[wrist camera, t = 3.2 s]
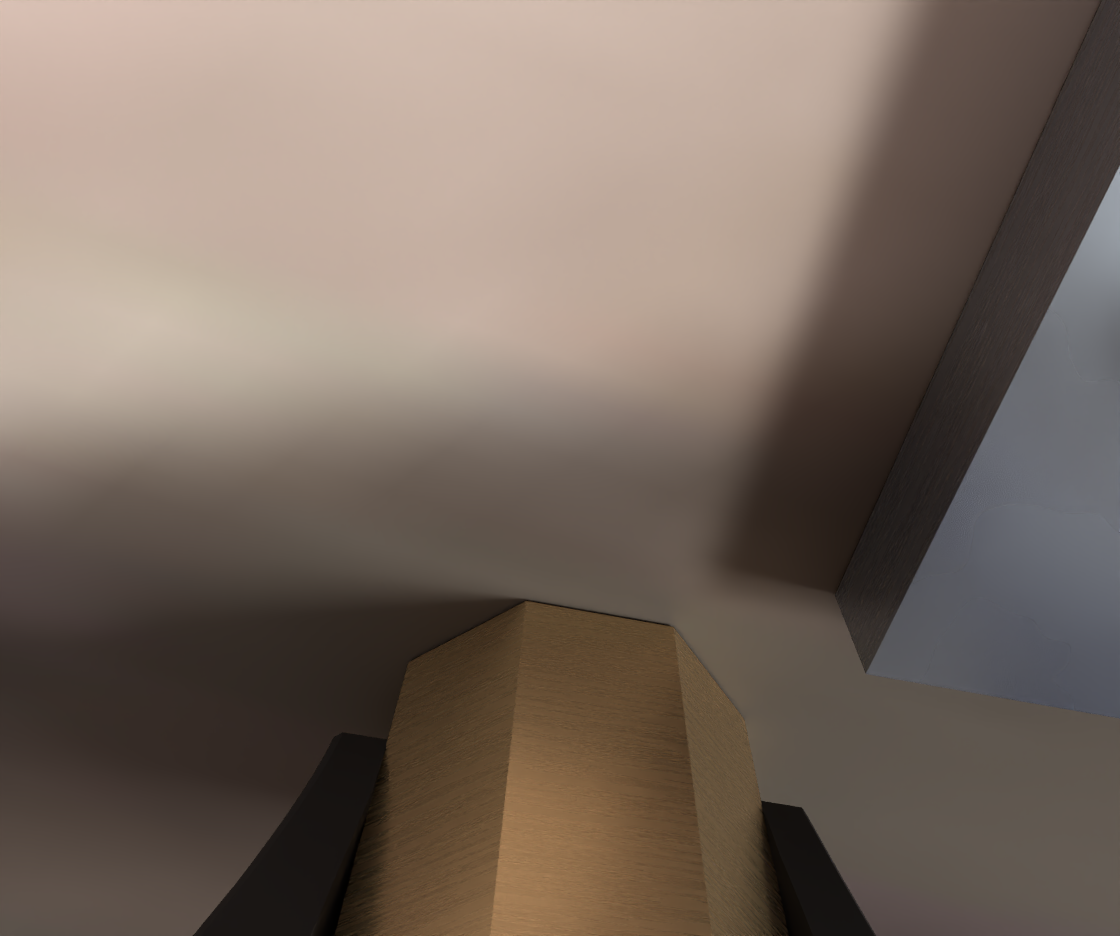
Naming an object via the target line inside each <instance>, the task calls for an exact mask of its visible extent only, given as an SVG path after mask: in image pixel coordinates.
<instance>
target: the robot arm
mask: <svg viewBox="0 0 1120 936" xmlns="http://www.w3.org/2000/svg"><path fill="white" fill-rule="evenodd" d="M386 743H387V740H386V739H380V738H373V737H367V736H361V735H355V734H349V733H341V734H339V735H337V736H335V737H334V738H333V740H332V742H331V744H330V746H329V748H328V750H327V752H326V753H325V755H324V757H323V759H322V761H321V762H320V764H319V766H318V767H317V769H316V771H315V772H314V774H313V776H312V777H311V779H310V781H309V782H308V784H307V785H306V787H305V788H304V790H303V791H302V793H301V795H300V796H299V798H298V799H297V801H296V802H295V803H294V805H293V806H292V808H291V809H290V811H289V812H288V814H287V815H286V817H285V818H284V820H283V821H282V823H281V824H280V825H279V827H278V828H277V829H276V831H275V832H274V833H273V835H272V836H271V837H270V839H269V840H268V842H267V843H266V844H265V846H264V847H263V848H262V850H261V851H260V852H259V854H258V855H257V856H256V858H255V859H254V861H253V862H252V863H251V865H250V866H249V867H248V869H247V870H246V871H245V873H244V874H243V875H242V876H241V878H240V879H239V880H238V882H237V883H236V884H235V885H234V887H233V888H232V889H231V890H230V891H229V893H228V894H227V895H226V896H225V897H224V899H223V900H222V901H221V902H220V904H219V905H218V906H217V907H216V908H215V910H214V911H213V912H212V913H211V915H210V916H209V917H208V918H207V919H206V921H205V922H204V923H203V924H202V925H201V927H200V928H199V929H198V930H197V932H196V933H195V934H194V935H193V936H334V935H335V932H336V928H337V924H338V921H339V917H340V913H341V910H342V906H343V902H344V898H345V895H346V891H347V887H348V884H349V880H350V876H351V873H352V869H353V865H354V862H355V858H356V854H357V851H358V847H359V843H360V839H361V836H362V832H363V828H364V825H365V821H366V817H367V814H368V810H369V807H370V804H371V801H372V797H373V794H374V790H375V786H376V783H377V779H378V775H379V771H380V768H381V764H382V760H383V757H384V753H385V749H386ZM761 803H762V810H763V815H764V820H765V825H766V830H767V834H768V839H769V844H770V849H771V854H772V859H773V864H774V868H775V872H776V876H777V881H778V886H779V891H780V896H781V901H782V905H783V910H784V915H785V920H786V925H787V930H788V935H789V936H876V935H875V933H874V931H873V930H872V928H871V926H870V925H869V923H868V921H867V920H866V918H865V916H864V915H863V913H862V911H861V910H860V908H859V906H858V904H857V903H856V901H855V899H854V897H853V896H852V894H851V892H850V891H849V889H848V887H847V885H846V884H845V882H844V880H843V878H842V877H841V875H840V873H839V871H838V870H837V868H836V866H835V864H834V863H833V861H832V859H831V857H830V855H829V854H828V852H827V850H826V848H825V847H824V845H823V843H822V841H821V839H820V838H819V836H818V834H817V832H816V831H815V829H814V827H813V825H812V823H811V822H810V820H809V818H808V816H807V815H806V813H805V812H804V810H803V809H802V808H801V807H795V806H789V805H783V804H777V803H771V802H765V801H761Z"/></svg>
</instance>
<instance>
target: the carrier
mask: <svg viewBox="0 0 1120 936" xmlns="http://www.w3.org/2000/svg"><path fill="white" fill-rule="evenodd" d="M835 597H836V599H837V602H838V604H839V607H840V610H841V612H842V615H843V617H844V620H845V622H846V625H847V627H848V630H849V632H850V635H851V637H852V640H853V642H854V645H855V648H856V650H857V653H858V655H859V658H860V660H861V663H862V665H863V668H864V670H865V673H866V674H869V675H875V676H881V677H886V678H892V679H898V680H904V681H909V682H915V683H921V684H926V685H932V686H938V687H944V688H949V689H955V690H961V691H966V692H972V693H978V694H983V695H989V696H995V697H1001V698H1006V699H1012V700H1018V701H1023V702H1029V703H1035V704H1041V705H1046V706H1052V707H1058V708H1063V709H1069V710H1075V711H1081V712H1086V713H1092V714H1098V715H1103V716H1109V717H1115V718H1120V0H1102V1H1101V3H1100V6H1099V8H1098V10H1097V12H1096V14H1095V17H1094V19H1093V21H1092V23H1091V26H1090V28H1089V30H1088V32H1087V35H1086V37H1085V39H1084V41H1083V43H1082V46H1081V48H1080V50H1079V52H1078V55H1077V57H1076V59H1075V61H1074V64H1073V66H1072V68H1071V70H1070V72H1069V75H1068V77H1067V79H1066V81H1065V84H1064V86H1063V88H1062V90H1061V93H1060V95H1059V97H1058V99H1057V101H1056V104H1055V106H1054V108H1053V110H1052V113H1051V115H1050V117H1049V119H1048V122H1047V124H1046V126H1045V128H1044V130H1043V133H1042V135H1041V137H1040V139H1039V142H1038V144H1037V146H1036V148H1035V151H1034V153H1033V155H1032V157H1031V159H1030V162H1029V164H1028V166H1027V168H1026V171H1025V173H1024V175H1023V177H1022V180H1021V182H1020V184H1019V186H1018V188H1017V191H1016V193H1015V195H1014V197H1013V200H1012V202H1011V204H1010V206H1009V209H1008V211H1007V213H1006V215H1005V217H1004V220H1003V222H1002V224H1001V226H1000V229H999V231H998V233H997V235H996V237H995V240H994V242H993V244H992V246H991V249H990V251H989V253H988V255H987V258H986V260H985V262H984V264H983V266H982V269H981V271H980V273H979V275H978V278H977V280H976V282H975V284H974V287H973V289H972V291H971V293H970V295H969V298H968V300H967V302H966V304H965V307H964V309H963V311H962V313H961V316H960V318H959V320H958V322H957V324H956V327H955V329H954V331H953V333H952V336H951V338H950V340H949V342H948V345H947V347H946V349H945V351H944V353H943V356H942V358H941V360H940V362H939V365H938V367H937V369H936V371H935V374H934V376H933V378H932V380H931V382H930V385H929V387H928V389H927V391H926V394H925V396H924V398H923V400H922V403H921V405H920V407H919V409H918V411H917V414H916V416H915V418H914V420H913V423H912V425H911V427H910V429H909V432H908V434H907V436H906V438H905V440H904V443H903V445H902V447H901V449H900V452H899V454H898V456H897V458H896V461H895V463H894V465H893V467H892V469H891V472H890V474H889V476H888V478H887V481H886V483H885V485H884V487H883V490H882V492H881V494H880V496H879V498H878V501H877V503H876V505H875V507H874V510H873V512H872V514H871V516H870V519H869V521H868V523H867V525H866V527H865V530H864V532H863V534H862V536H861V539H860V541H859V543H858V545H857V548H856V550H855V552H854V554H853V556H852V559H851V561H850V563H849V565H848V568H847V570H846V572H845V574H844V577H843V579H842V581H841V583H840V585H839V588H838V590H837V592H836V594H835Z"/></svg>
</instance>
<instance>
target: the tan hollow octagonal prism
mask: <svg viewBox="0 0 1120 936" xmlns="http://www.w3.org/2000/svg"><path fill="white" fill-rule="evenodd" d="M334 936H789V935H788V930H787V925H786V920H785V915H784V910H783V905H782V901H781V896H780V891H779V886H778V881H777V876H776V872H775V868H774V864H773V859H772V854H771V849H770V844H769V839H768V834H767V830H766V825H765V820H764V815H763V810H762V803H761V798H760V793H759V789H758V784H757V779H756V774H755V769H754V764H753V759H752V754H751V750H750V745H749V740H748V735H747V730H746V725H745V720H744V718H743V717H742V716H741V714H740V713H739V712H738V710H737V709H736V708H735V707H734V705H733V704H732V703H731V701H730V700H729V699H728V697H727V696H726V695H725V693H724V692H723V691H722V690H721V688H720V687H719V686H718V684H717V683H716V682H715V680H714V679H713V678H712V677H711V675H710V674H709V673H708V671H707V670H706V669H705V667H704V666H703V665H702V664H701V662H700V661H699V660H698V658H697V657H696V656H695V654H694V653H693V652H692V650H691V649H690V648H689V647H688V645H687V644H686V643H685V641H684V640H683V639H682V637H681V636H680V635H679V634H678V632H677V631H676V630H675V628H674V627H671V626H665V625H660V624H654V623H648V622H642V621H637V620H631V619H625V618H620V617H614V616H608V615H603V614H597V613H591V612H586V611H580V610H574V609H569V608H563V607H557V606H552V605H546V604H540V603H535V602H529V601H525V602H523V603H521V604H519V605H518V606H516V607H514V608H512V609H510V610H508V611H506V612H504V613H502V614H500V615H498V616H496V617H494V618H493V619H491V620H489V621H487V622H485V623H483V624H481V625H479V626H477V627H475V628H473V629H471V630H469V631H468V632H466V633H464V634H462V635H460V636H458V637H456V638H454V639H452V640H450V641H448V642H446V643H444V644H443V645H441V646H439V647H437V648H435V649H433V650H431V651H429V652H427V653H425V654H423V655H421V656H420V657H418V658H416V659H414V660H412V661H410V662H408V666H407V670H406V673H405V677H404V681H403V684H402V688H401V692H400V695H399V699H398V703H397V707H396V710H395V714H394V718H393V721H392V725H391V729H390V732H389V736H388V740H387V743H386V749H385V753H384V757H383V760H382V764H381V768H380V771H379V775H378V779H377V783H376V786H375V790H374V794H373V797H372V801H371V804H370V807H369V810H368V814H367V817H366V821H365V825H364V828H363V832H362V836H361V839H360V843H359V847H358V851H357V854H356V858H355V862H354V865H353V869H352V873H351V876H350V880H349V884H348V887H347V891H346V895H345V898H344V902H343V906H342V910H341V913H340V917H339V921H338V924H337V928H336V932H335V935H334Z"/></svg>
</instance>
